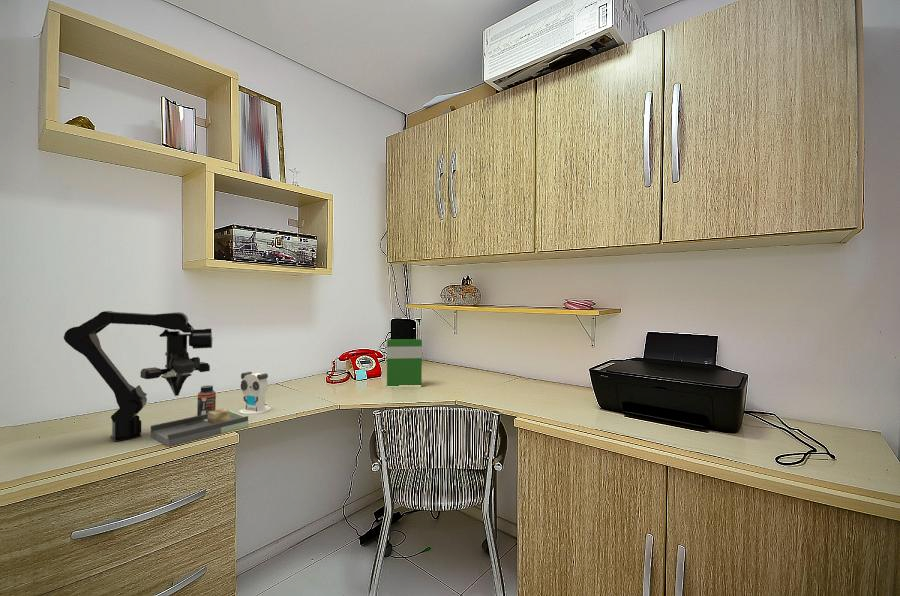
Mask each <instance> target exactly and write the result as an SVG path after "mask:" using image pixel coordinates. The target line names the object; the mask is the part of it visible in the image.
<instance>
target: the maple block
mask: <svg viewBox="0 0 900 596" xmlns="http://www.w3.org/2000/svg"><path fill="white" fill-rule="evenodd" d="M228 410H229V409H225V408H219V409H216V410H214V411H209V412H208V422H209V423H212V424H215V423H219V422H224V421H228V420H230V411H228Z"/></svg>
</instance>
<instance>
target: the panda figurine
mask: <svg viewBox="0 0 900 596" xmlns="http://www.w3.org/2000/svg"><path fill="white" fill-rule="evenodd" d="M268 378H269V376H268V373H260V372H255V373H253V372H252V371H246V372H242V373H241V374H240V379H241V381H240V391H241V390H242V391H241V392H242V394H243V395H244V396H243V401H244V402H245V407H244V408H241V409H240V410H239V411H238V413H239V414H242V415H258V414H264V413H267V412H270V411H271V407H270V406H268V405H266V404H265V403H266V394H267V392H268V390H269V384H268V382H269V381H268Z"/></svg>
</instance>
